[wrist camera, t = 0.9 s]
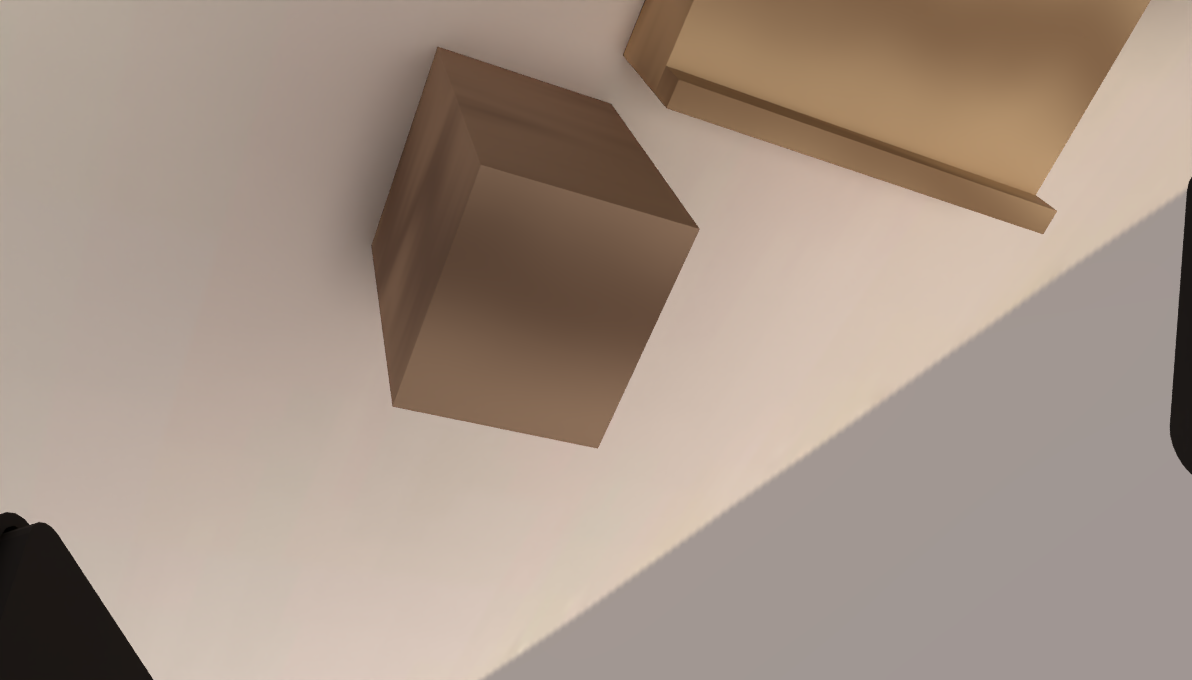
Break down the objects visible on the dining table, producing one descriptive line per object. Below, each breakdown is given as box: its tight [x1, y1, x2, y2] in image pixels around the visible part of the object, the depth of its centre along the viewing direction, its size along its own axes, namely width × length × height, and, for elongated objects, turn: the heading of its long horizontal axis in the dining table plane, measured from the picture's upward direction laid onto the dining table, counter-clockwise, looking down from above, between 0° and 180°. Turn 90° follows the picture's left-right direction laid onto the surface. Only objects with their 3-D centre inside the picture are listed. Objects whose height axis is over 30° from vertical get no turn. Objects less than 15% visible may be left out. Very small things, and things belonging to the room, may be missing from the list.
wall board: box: [623, 0, 1150, 234], centre depth 28 cm, size 10×20×14 cm, turn 68°
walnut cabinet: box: [371, 47, 699, 448], centre depth 31 cm, size 7×6×9 cm
